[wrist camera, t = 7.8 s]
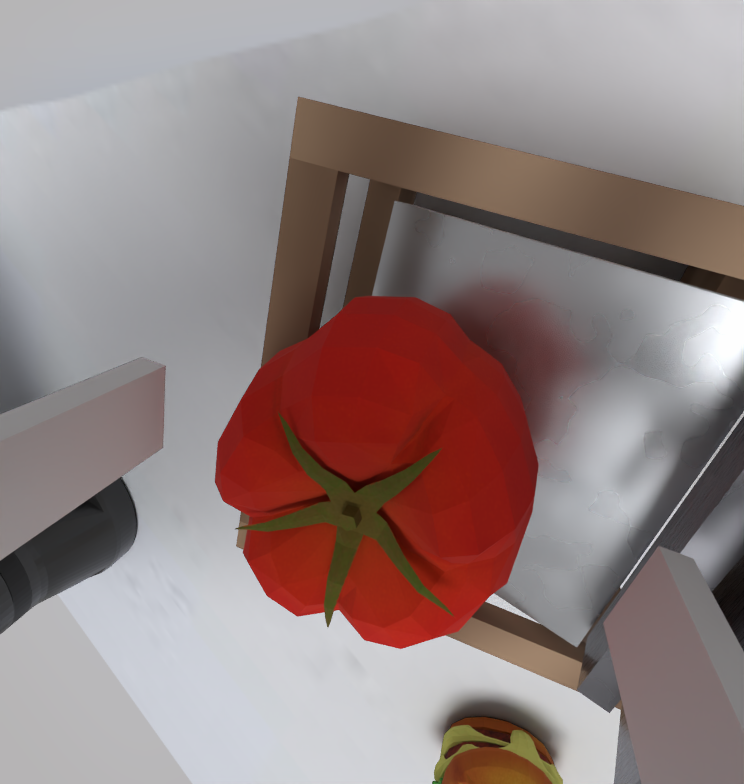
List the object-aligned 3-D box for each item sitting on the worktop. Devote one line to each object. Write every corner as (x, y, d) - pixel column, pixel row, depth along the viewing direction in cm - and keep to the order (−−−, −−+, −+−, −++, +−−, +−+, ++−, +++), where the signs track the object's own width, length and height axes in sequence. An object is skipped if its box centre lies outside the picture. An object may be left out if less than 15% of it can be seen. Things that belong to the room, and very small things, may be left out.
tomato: (501, 539, 17) (490, 742, 11) (296, 478, 19) (179, 616, 13) (574, 303, 13) (626, 390, 7) (308, 259, 15) (149, 293, 9)
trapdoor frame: (334, 423, 30) (236, 546, 19) (398, 151, 23) (297, 96, 12) (581, 512, 28) (631, 714, 17) (740, 239, 20) (1022, 274, 9)
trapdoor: (1233, 441, 9) (1926, 670, 4) (799, 769, 14) (866, 1025, 10) (407, 203, 17) (304, 182, 12) (338, 474, 22) (250, 534, 17)
